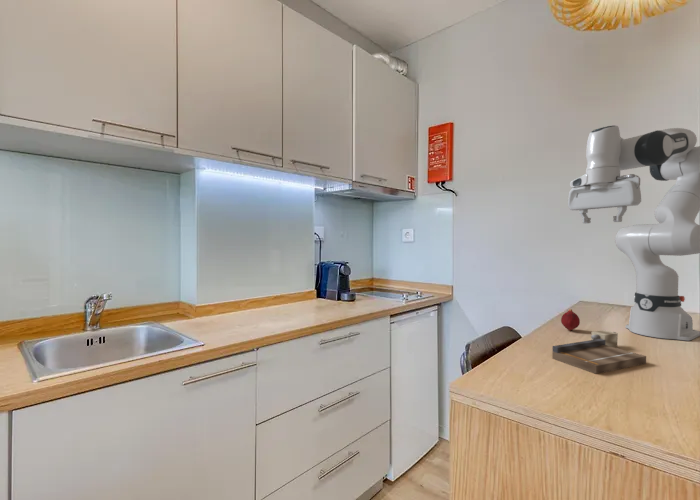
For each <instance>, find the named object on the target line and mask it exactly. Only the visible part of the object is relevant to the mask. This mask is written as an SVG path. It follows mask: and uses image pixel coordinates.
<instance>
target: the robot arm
mask: <svg viewBox="0 0 700 500" xmlns="http://www.w3.org/2000/svg"><path fill="white" fill-rule="evenodd" d="M697 142H698V139H697V135H696V134H695V133H694V132H693V131H692V130H690V129H688V128H683V127H673V128H665V129H661V130H653V131H651V132H648V133H644V134H640V135H637V136H633V137H632V136H631V137H628V138H623V137H621V132H620V127H619V126H618V125H608V126H603V127H599V128H596V129H593V130H592V131H590V132H589V134H588V137H587V142H586V149H585V150H586V151H585V159H586V163H587V165H586V168H585V173H584V174H583V175H581V176H579V177H577V178H575V179H573V180H571V181H570V182H569V186H570V188H571V189H570V190H569V192H568V196H567V197H568V199H567V201H568V202H567V207H568V209H569V210H570V211H578V212H579V215H580V217H581V218H582V224H591V219H592V217H589V216H588V212H589V211H588V210H599V209H611V208H616V209H617V211H618V212H617V214H616V215H613V218H612V219H613V220H612V221H613V223H622V222H623V216H624V215H625V213H626V212H627V210H628V207H633V206H639V205H640V204H641V202H642V194H641V191H642V190H641V178H640V176H639V175H637V174H634V173H630V174H625V175H624V174H623V175H621V171H626V170H632V169H633V170H634V169H637V168H643V167H649V174H650V176H651V177H652V178H653V179H654V180H656V181H661V182H662V181H665V182H666V181H674V180H676V181H675V184H673V185H672V187H670V189H669V190H667V192H666V193H665V195H664V196H663V198H662V199H661V201H660V202H659V203H658V205H657V206H656V208H655V210H654V217H655V219H656V221H657V222H658V223H649V224H646V223H645V224H643V223H642V224H634V225H628V226H624V227H621V228H619V230H618V231H617V232H616V234H615V237H614V238H615V239H614V243H615V246H616V247H617V249H618V250H619V251H620V252H622V253H623V254H625V255H626V256H627V258H628V259H629V260H630V262H631V263H632V265H633V267H634V271H635V281H636V288H635V289H636V292H634V295H633V297H634V305H632V306H631V307H630V312H629V313H630V314H629V321H628V324H625V325H624V326H625V329H628V330H629V331H630V332H631V333H634V334H636V335H637V334H638V335H641V336H646V337H649V338H651V337H652V338H657V339H664V340H665V339H666V340H667V339H670V340H678V341H688V342H689V341H692V340H694V339H696V338H698V337H700V331H699V330H696V329H693V328H694V327H693V322H694V321H693V317H692V316H691V315H690V314H689V313H688V312H686V311H685V309H684V308H682V302H683V303H684V302H685V300H686V297H685V295H679V274H678V272H677V271H676V270H675V269H674V268H672V267H670V266H667V265H666V264H664V263H663V262H662V260H661V258H660V256H675V257H677V256H681V257H682V256H683V257H684V256H691V255H698V254H700V224H698V223H696V222H695V221H696V218H697V216H698V214H699V212H700V145H699V146H696V145H697Z"/></svg>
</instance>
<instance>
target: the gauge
mask: <svg viewBox="0 0 700 500" xmlns="http://www.w3.org/2000/svg"><path fill="white" fill-rule="evenodd" d="M590 334H591V336H590V340H595V339H603V340H605V345H607V346H611V347H614V348H618V337H619V336H618V332H616V331H610V330H605V329H603V330H595V331H591V333H590Z"/></svg>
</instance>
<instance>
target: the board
mask: <svg viewBox="0 0 700 500" xmlns="http://www.w3.org/2000/svg"><path fill="white" fill-rule="evenodd" d="M551 353H552V355H551V356H552V357H551V358H552V359H553V360H555V361H558V362H562V363H564V364H567V365H569V366H572V367H576V368H578V369H581V370H584V371H587V372H590V373H593V374H595V375H597V374H603V373H606V372H607V373H608V372H611V371H616V370H621V369H626V368H632V367H635V366H641V365H646V364H647V356H646V355H643V354H640V353H636V352H633V351H628V350H625V349H621V348H619V347H617V348H614V347H611V346H607V345H605V340H603V339H595V340H591V339H590V340H584V341H577V342H571V343H563V344H558V345H557V344H556V345H552V351H551Z"/></svg>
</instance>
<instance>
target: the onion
mask: <svg viewBox="0 0 700 500" xmlns="http://www.w3.org/2000/svg"><path fill="white" fill-rule="evenodd" d="M560 321H561V325H562V326H563V327H565V329H566V330H568V331H570V332H571V331H573V330H575V329H576V328H578V327H579V326H580V323H581V322H580V321H581V320H580V318H579V315H577V313H575V312H574V311H573V309H571V308H569V309H568V311H566V312H564V313H563V314H562V315H561V319H560Z"/></svg>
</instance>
